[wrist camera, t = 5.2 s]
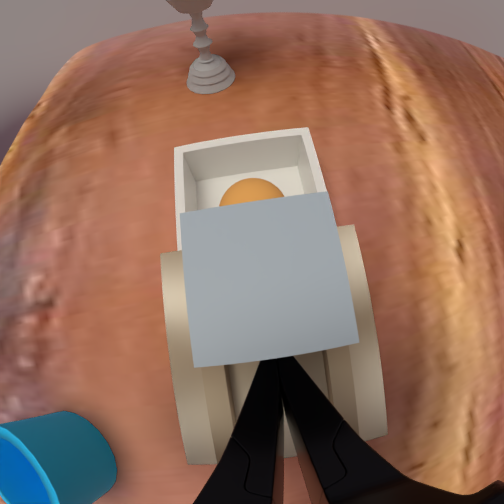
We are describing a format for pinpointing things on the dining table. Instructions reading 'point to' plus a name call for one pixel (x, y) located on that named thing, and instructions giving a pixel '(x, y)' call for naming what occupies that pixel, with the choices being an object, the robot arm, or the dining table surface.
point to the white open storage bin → (244, 167)
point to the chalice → (204, 52)
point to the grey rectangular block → (265, 280)
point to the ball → (250, 191)
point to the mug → (54, 461)
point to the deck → (241, 374)
